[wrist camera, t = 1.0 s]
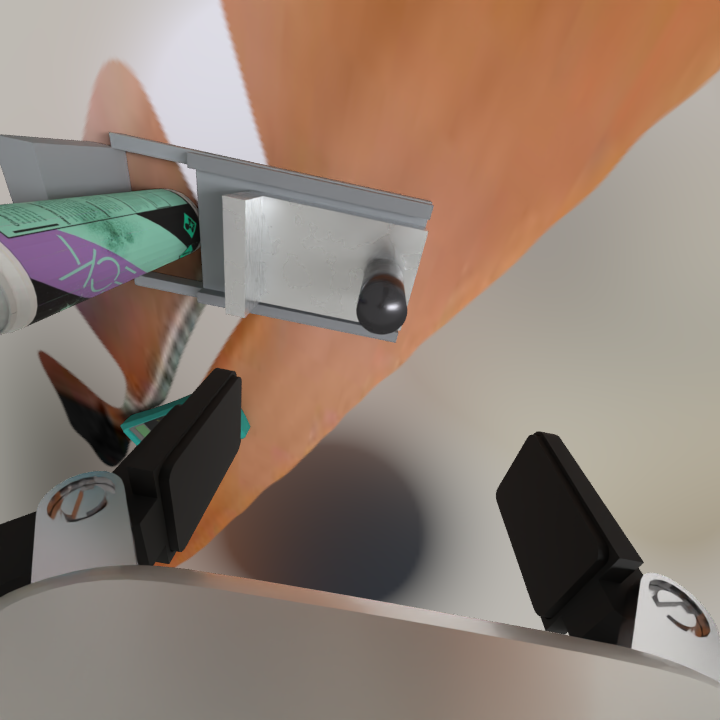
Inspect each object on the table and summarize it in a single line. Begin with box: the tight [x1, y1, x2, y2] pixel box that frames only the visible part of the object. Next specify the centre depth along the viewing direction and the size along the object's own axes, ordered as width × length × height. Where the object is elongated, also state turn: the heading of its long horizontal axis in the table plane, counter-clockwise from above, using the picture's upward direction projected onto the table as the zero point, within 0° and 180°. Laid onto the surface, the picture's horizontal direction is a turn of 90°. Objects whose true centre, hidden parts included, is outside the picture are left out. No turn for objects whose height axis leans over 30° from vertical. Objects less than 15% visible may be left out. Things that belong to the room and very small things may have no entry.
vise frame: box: [0, 132, 433, 343], centre depth 26 cm, size 12×28×8 cm, turn 79°
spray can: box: [0, 189, 201, 335], centre depth 21 cm, size 6×6×20 cm
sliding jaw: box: [222, 190, 428, 335], centre depth 24 cm, size 8×14×9 cm, turn 79°
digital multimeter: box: [121, 394, 250, 445], centre depth 41 cm, size 7×15×3 cm, turn 114°
